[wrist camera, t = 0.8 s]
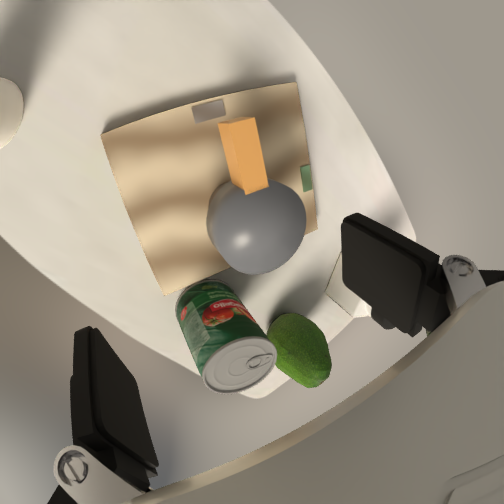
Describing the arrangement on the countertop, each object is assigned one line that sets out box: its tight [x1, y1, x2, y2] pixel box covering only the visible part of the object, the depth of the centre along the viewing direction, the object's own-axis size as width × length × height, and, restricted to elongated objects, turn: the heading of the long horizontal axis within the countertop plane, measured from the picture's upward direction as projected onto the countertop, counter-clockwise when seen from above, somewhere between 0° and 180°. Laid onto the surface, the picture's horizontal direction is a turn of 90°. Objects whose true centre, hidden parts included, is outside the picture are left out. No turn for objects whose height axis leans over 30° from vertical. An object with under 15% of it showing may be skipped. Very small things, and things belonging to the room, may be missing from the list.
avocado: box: [267, 313, 332, 388], centre depth 38 cm, size 8×8×12 cm
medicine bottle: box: [325, 252, 395, 329], centre depth 40 cm, size 7×7×12 cm
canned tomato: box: [175, 280, 277, 394], centre depth 31 cm, size 8×8×11 cm
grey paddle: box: [206, 117, 307, 275], centre depth 24 cm, size 13×8×3 cm, turn 13°
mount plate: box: [100, 82, 318, 296], centre depth 28 cm, size 18×20×6 cm
